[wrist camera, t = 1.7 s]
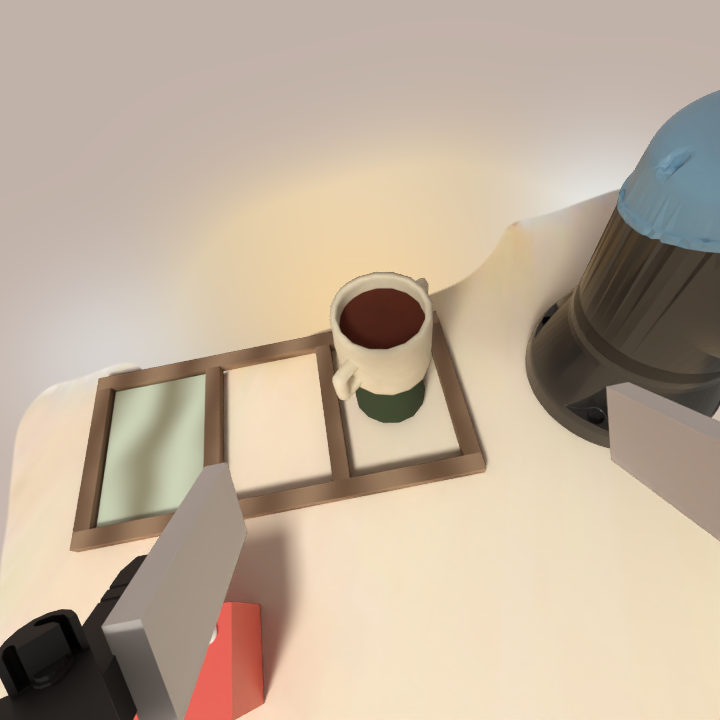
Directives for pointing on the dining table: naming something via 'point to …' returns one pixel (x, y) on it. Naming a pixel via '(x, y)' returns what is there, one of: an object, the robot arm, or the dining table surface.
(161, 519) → the game track
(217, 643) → the red die
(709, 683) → the dining table surface
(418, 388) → the character mug
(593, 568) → the dining table surface
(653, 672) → the dining table surface
